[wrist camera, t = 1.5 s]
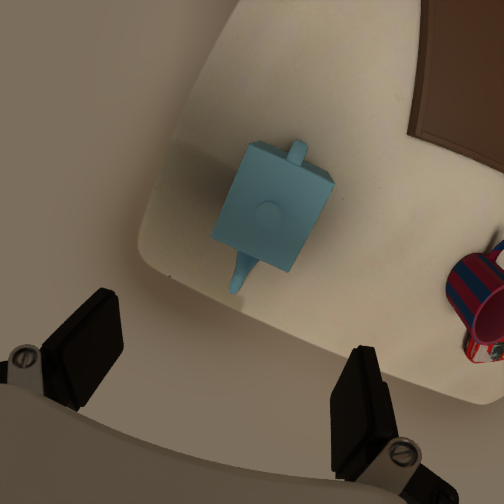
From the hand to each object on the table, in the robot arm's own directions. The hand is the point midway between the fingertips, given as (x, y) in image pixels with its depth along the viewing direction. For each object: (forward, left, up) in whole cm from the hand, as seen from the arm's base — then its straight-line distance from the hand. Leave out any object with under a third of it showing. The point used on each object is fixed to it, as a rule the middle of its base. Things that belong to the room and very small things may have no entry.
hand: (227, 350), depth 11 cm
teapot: (0, +1, -18) cm, 18 cm away
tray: (+19, +20, -18) cm, 33 cm away
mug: (+23, -1, -18) cm, 29 cm away
